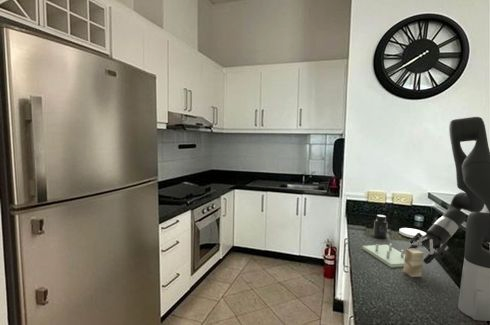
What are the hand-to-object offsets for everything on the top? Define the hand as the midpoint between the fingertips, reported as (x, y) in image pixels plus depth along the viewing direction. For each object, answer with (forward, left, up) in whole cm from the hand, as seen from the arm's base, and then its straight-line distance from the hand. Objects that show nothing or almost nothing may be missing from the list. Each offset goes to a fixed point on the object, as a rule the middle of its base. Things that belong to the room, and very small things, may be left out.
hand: (416, 257), depth 118 cm
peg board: (+15, +5, -7) cm, 18 cm away
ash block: (-1, +1, -7) cm, 7 cm away
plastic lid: (+50, -19, -7) cm, 54 cm away
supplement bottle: (+43, +1, -7) cm, 44 cm away
